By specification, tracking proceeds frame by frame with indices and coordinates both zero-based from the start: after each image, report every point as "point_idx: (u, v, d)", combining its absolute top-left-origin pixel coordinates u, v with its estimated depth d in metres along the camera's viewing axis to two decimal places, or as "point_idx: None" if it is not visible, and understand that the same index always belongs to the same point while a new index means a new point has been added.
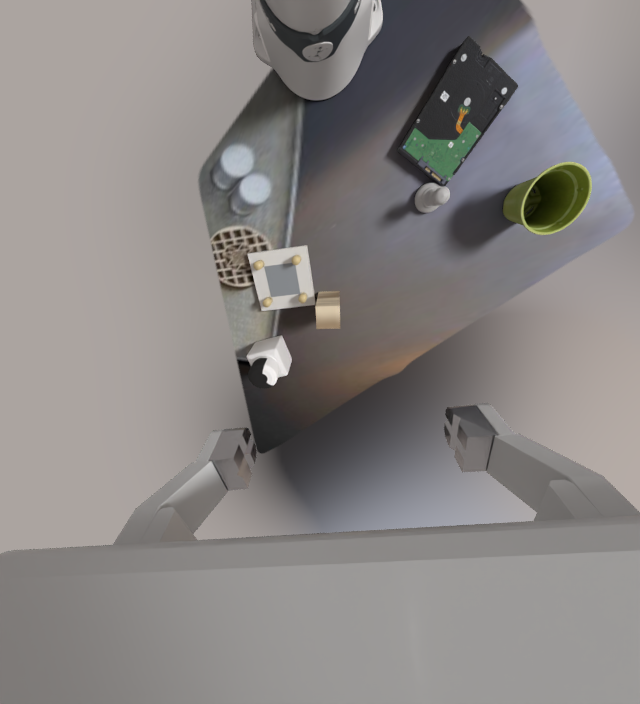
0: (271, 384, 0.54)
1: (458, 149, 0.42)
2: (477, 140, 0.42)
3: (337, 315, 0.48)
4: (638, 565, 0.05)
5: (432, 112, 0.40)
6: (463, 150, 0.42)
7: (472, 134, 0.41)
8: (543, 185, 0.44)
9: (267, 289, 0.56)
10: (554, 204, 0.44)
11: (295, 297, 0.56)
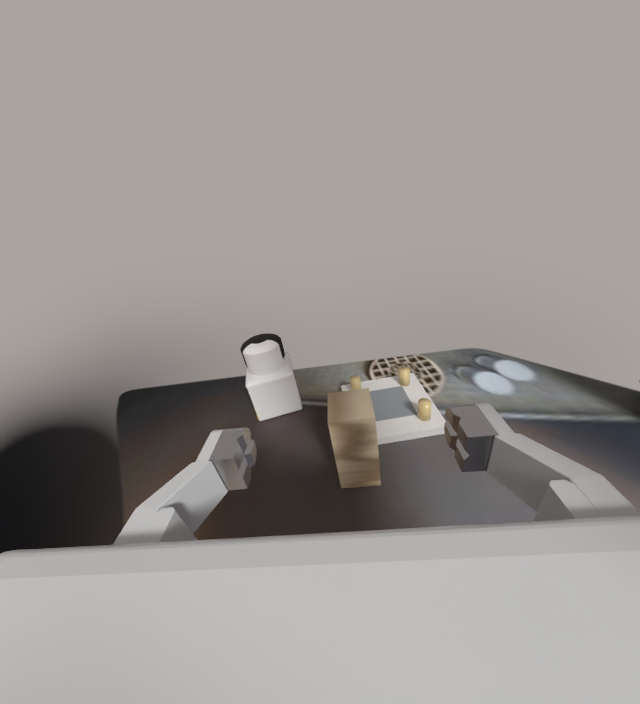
0: (245, 348, 0.37)
1: None
2: None
3: (354, 416, 0.24)
4: (638, 565, 0.05)
5: None
6: None
7: None
8: None
9: (371, 389, 0.41)
10: None
11: None
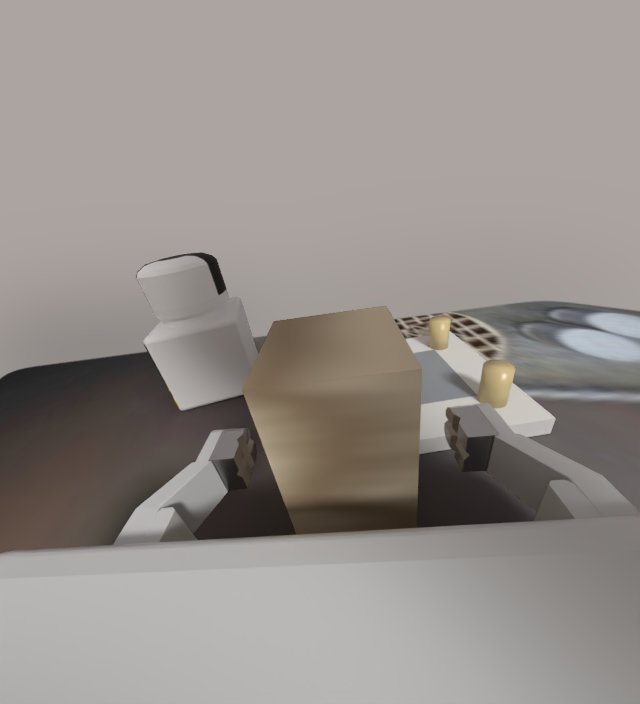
0: (142, 269, 0.19)
1: None
2: None
3: (340, 369, 0.07)
4: (638, 565, 0.05)
5: None
6: None
7: None
8: None
9: None
10: None
11: None
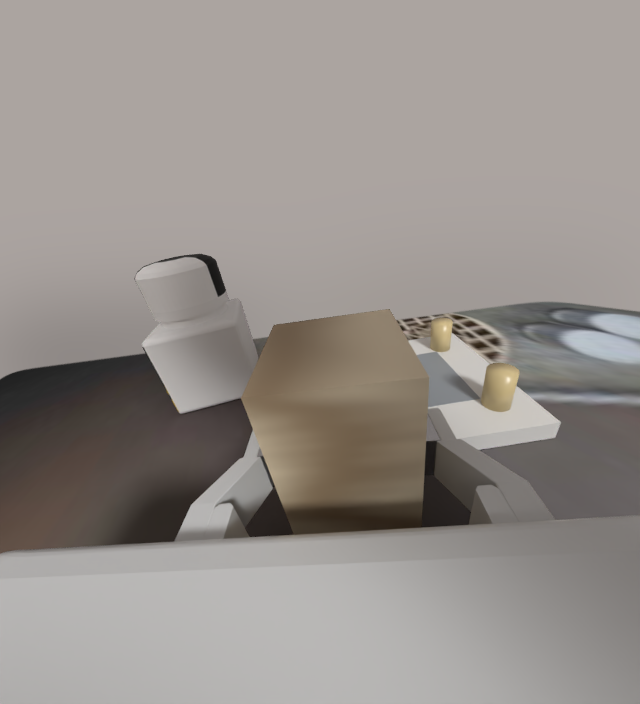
0: (140, 271, 0.19)
1: None
2: None
3: (343, 377, 0.06)
4: (638, 565, 0.05)
5: None
6: None
7: None
8: None
9: None
10: None
11: None
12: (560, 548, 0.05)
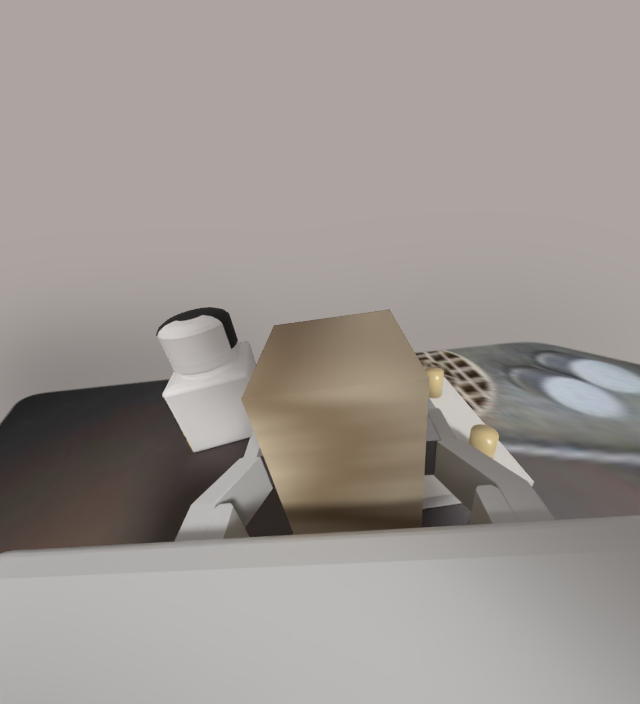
0: (162, 329, 0.21)
1: None
2: None
3: (343, 377, 0.06)
4: (638, 565, 0.05)
5: None
6: None
7: None
8: None
9: None
10: None
11: None
12: (560, 548, 0.05)
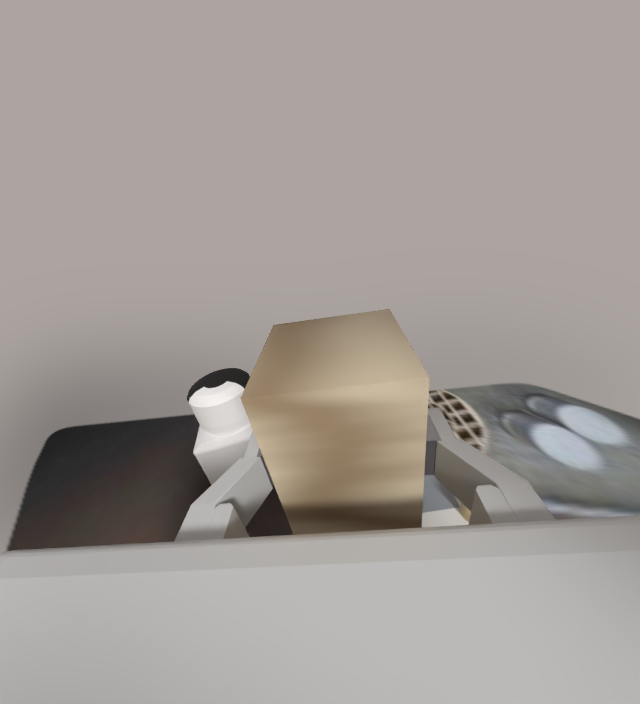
0: (193, 396, 0.24)
1: None
2: None
3: (343, 377, 0.06)
4: (638, 565, 0.05)
5: None
6: None
7: None
8: None
9: None
10: None
11: None
12: (560, 548, 0.05)
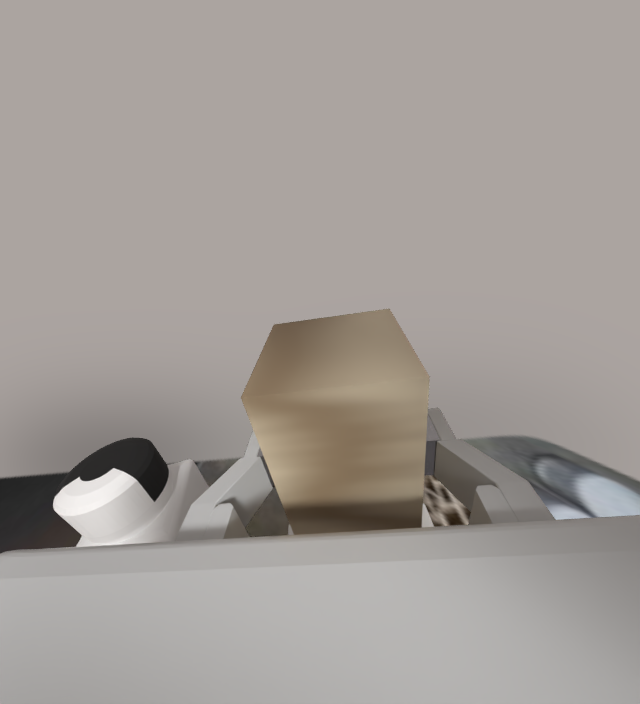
0: (59, 493, 0.17)
1: None
2: None
3: (343, 376, 0.06)
4: (638, 565, 0.05)
5: None
6: None
7: None
8: None
9: None
10: None
11: None
12: (560, 548, 0.05)
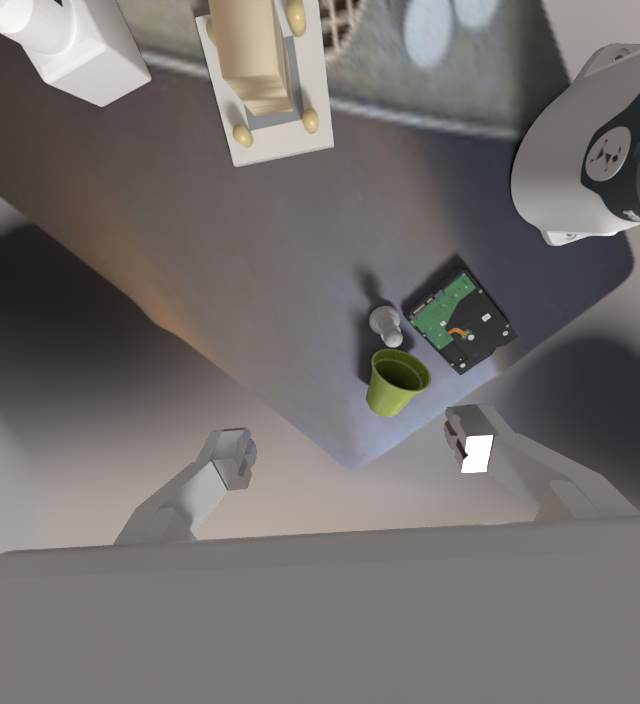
0: None
1: (435, 330, 0.40)
2: (435, 347, 0.42)
3: (252, 66, 0.20)
4: (638, 565, 0.05)
5: (479, 305, 0.38)
6: (432, 335, 0.41)
7: (442, 342, 0.41)
8: None
9: None
10: None
11: (240, 118, 0.29)
12: (560, 548, 0.05)
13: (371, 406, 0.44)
